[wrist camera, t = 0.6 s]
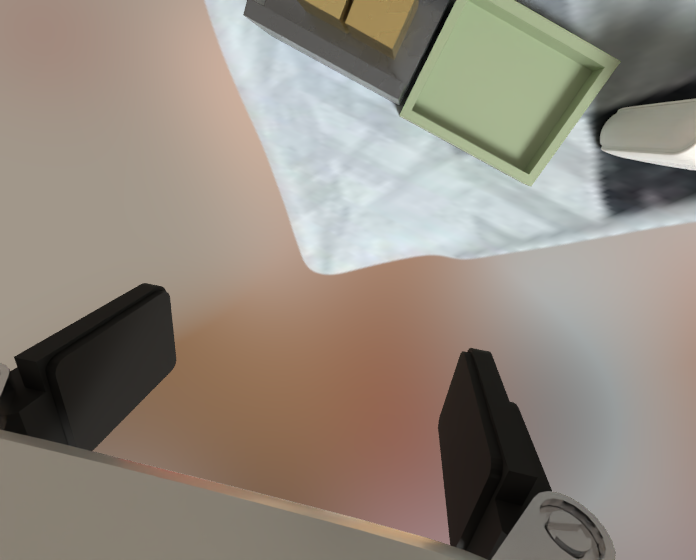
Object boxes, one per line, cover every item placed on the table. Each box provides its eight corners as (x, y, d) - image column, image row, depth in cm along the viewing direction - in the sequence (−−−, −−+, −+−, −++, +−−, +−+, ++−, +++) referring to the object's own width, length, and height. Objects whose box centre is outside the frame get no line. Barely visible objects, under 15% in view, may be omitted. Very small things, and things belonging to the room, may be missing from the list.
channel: (308, -88, 28) (285, -141, 23) (453, -6, 29) (464, -38, 24) (270, 35, 32) (243, 14, 27) (399, 105, 33) (398, 99, 28)
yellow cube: (374, -18, 27) (369, -42, 24) (418, 7, 27) (420, -13, 24) (352, 37, 29) (345, 22, 25) (393, 59, 29) (392, 49, 25)
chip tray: (463, -13, 29) (469, -26, 27) (604, 67, 29) (620, 61, 27) (399, 116, 33) (399, 115, 31) (522, 183, 34) (530, 186, 32)
